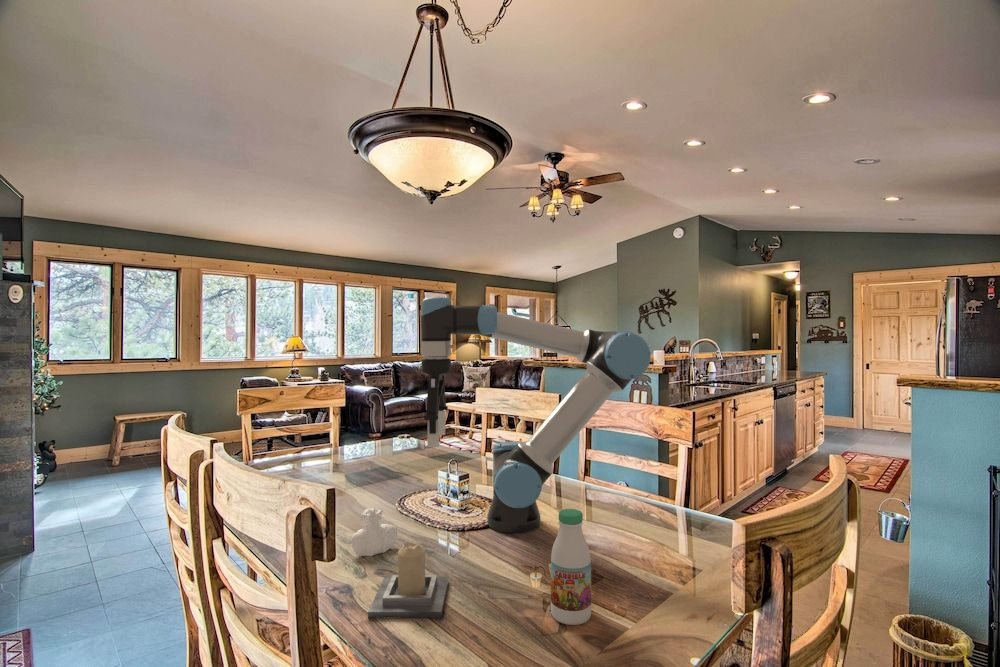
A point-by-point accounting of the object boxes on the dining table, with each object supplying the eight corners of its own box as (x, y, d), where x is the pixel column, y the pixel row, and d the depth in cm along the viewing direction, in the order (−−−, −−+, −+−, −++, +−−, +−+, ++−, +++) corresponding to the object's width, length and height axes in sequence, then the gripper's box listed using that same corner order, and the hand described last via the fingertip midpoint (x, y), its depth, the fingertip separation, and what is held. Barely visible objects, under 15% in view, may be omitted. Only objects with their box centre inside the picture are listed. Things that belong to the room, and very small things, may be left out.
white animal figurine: (395, 553, 133) (384, 510, 138) (405, 542, 128) (393, 499, 133) (349, 565, 126) (340, 520, 131) (358, 555, 121) (348, 509, 126)
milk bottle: (547, 605, 103) (547, 505, 103) (585, 603, 104) (585, 504, 104) (555, 627, 96) (554, 520, 95) (595, 625, 96) (595, 518, 96)
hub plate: (448, 582, 113) (448, 569, 113) (441, 618, 99) (440, 604, 99) (384, 582, 113) (384, 569, 113) (368, 618, 99) (367, 604, 99)
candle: (429, 587, 108) (428, 540, 108) (419, 601, 103) (418, 551, 103) (404, 584, 109) (404, 537, 109) (393, 598, 104) (393, 548, 104)
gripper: (445, 360, 120) (446, 451, 120) (455, 355, 145) (455, 430, 145) (413, 360, 120) (413, 452, 120) (428, 355, 145) (429, 430, 145)
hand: (436, 440), depth 133 cm, fingers open, 13 cm apart
